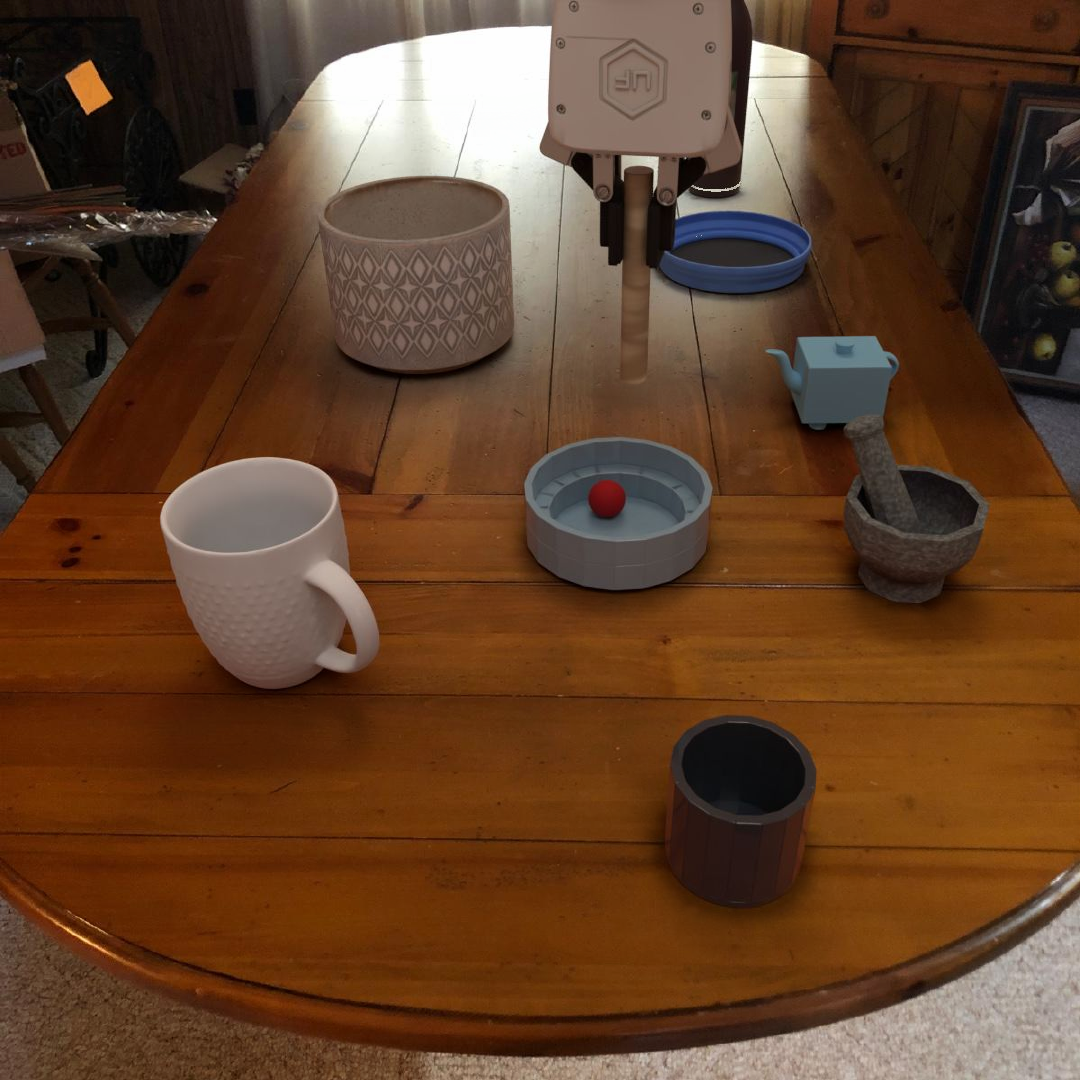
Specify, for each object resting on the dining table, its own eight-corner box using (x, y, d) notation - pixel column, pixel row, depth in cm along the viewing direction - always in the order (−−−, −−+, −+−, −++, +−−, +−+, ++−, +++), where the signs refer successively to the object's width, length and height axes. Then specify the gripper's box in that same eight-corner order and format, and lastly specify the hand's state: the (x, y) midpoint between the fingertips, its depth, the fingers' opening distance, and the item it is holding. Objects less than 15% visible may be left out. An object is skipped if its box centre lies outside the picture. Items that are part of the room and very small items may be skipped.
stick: (648, 373, 75) (655, 165, 67) (644, 385, 73) (651, 175, 65) (622, 371, 75) (626, 164, 67) (618, 383, 74) (621, 173, 65)
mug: (437, 664, 75) (421, 508, 68) (324, 764, 68) (291, 603, 60) (285, 587, 82) (254, 438, 75) (168, 671, 75) (120, 516, 68)
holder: (804, 809, 64) (819, 726, 60) (796, 921, 58) (812, 837, 54) (675, 787, 66) (681, 704, 62) (655, 893, 60) (660, 809, 56)
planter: (374, 400, 105) (355, 257, 97) (313, 327, 119) (292, 195, 110) (545, 356, 112) (542, 218, 103) (470, 291, 125) (461, 164, 117)
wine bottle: (678, 186, 152) (690, -58, 134) (721, 178, 154) (739, -63, 137) (705, 202, 147) (722, -50, 129) (749, 193, 149) (772, -55, 131)
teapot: (763, 432, 99) (771, 357, 94) (753, 399, 104) (761, 326, 99) (897, 431, 99) (912, 355, 94) (881, 398, 103) (894, 324, 99)
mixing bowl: (717, 499, 91) (721, 447, 88) (694, 607, 80) (698, 552, 77) (550, 479, 94) (549, 428, 91) (505, 581, 82) (503, 527, 80)
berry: (635, 512, 88) (609, 498, 90) (632, 481, 86) (606, 468, 88) (607, 529, 87) (582, 515, 89) (604, 499, 85) (578, 484, 87)
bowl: (800, 238, 136) (804, 210, 134) (815, 299, 121) (819, 268, 119) (654, 236, 137) (655, 208, 135) (652, 296, 123) (653, 266, 121)
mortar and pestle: (992, 575, 82) (1031, 437, 75) (931, 637, 76) (966, 494, 69) (858, 517, 88) (882, 384, 81) (793, 570, 83) (813, 433, 76)
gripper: (483, -62, 57) (500, 273, 68) (791, -60, 54) (757, 292, 65) (520, -82, 63) (531, 230, 74) (800, -81, 60) (768, 245, 71)
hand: (636, 257), depth 69 cm, fingers closed on stick, 1 cm apart
